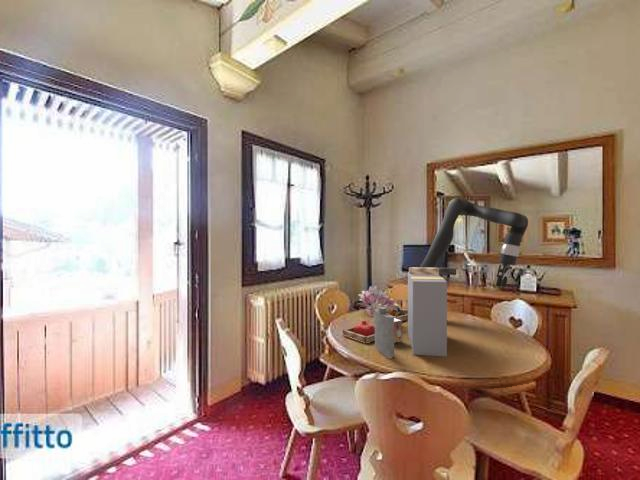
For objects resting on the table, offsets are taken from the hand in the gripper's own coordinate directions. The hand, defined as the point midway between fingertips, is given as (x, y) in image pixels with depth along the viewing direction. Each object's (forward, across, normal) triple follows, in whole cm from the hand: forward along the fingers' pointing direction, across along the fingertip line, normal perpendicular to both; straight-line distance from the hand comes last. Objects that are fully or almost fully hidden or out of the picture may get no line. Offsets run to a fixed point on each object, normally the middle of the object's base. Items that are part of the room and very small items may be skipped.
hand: (500, 286), depth 164 cm
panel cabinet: (+34, +25, -20) cm, 46 cm away
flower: (+39, +14, -52) cm, 67 cm away
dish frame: (+40, +35, -46) cm, 71 cm away
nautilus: (+37, -8, -58) cm, 70 cm away
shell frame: (+37, -8, -58) cm, 70 cm away
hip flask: (+38, +48, -28) cm, 67 cm away
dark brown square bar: (+1, +21, -26) cm, 33 cm away
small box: (+37, +33, -32) cm, 60 cm away
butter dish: (+41, +35, -47) cm, 71 cm away
